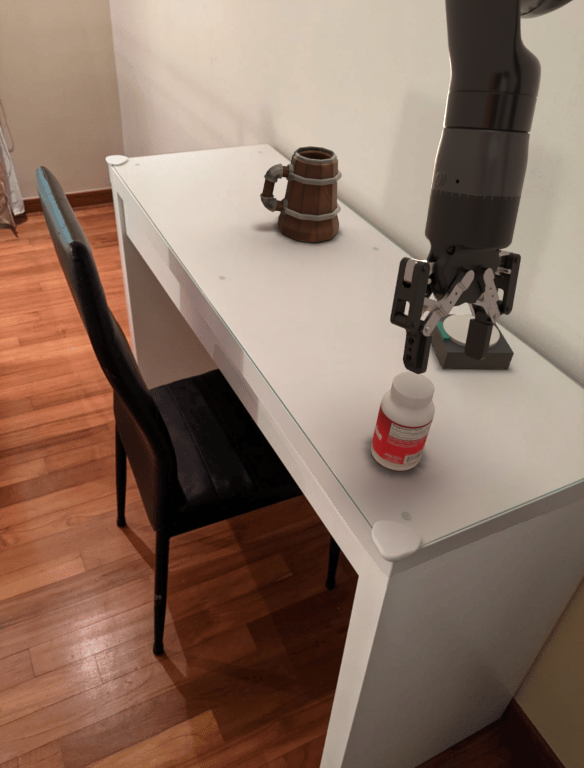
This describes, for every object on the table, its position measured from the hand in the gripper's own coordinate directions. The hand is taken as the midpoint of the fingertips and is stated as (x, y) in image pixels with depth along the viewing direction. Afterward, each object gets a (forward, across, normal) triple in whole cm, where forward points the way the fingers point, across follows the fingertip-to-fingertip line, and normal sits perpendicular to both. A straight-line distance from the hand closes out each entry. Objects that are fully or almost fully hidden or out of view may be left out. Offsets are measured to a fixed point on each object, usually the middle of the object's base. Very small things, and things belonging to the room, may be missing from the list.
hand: (445, 363), depth 59 cm
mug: (-1, +28, +64) cm, 70 cm away
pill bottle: (+16, +5, +10) cm, 19 cm away
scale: (+9, +29, +20) cm, 37 cm away
